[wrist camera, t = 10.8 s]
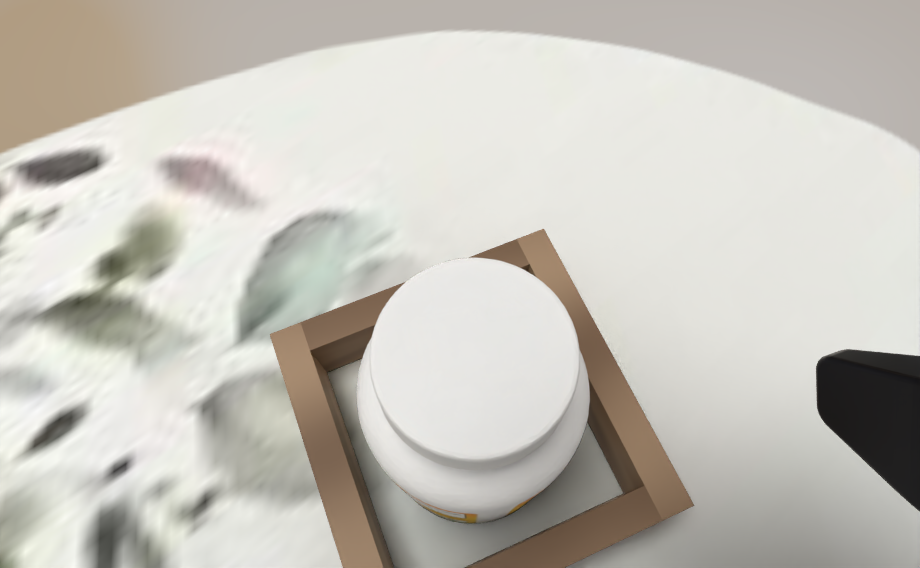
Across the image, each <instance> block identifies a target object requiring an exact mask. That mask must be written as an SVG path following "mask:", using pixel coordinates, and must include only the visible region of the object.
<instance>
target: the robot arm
mask: <svg viewBox="0 0 920 568" xmlns="http://www.w3.org/2000/svg"><path fill="white" fill-rule="evenodd" d="M816 387H817V409H818V412H819V415H820V417H821V418H822V420H823V421H824V423H825V424H826V425H827V426H828V427H829V428H830V429H831V430H832V431H833V432H834V433H836V434H837V435H838V436H839V437H840V438H841V439H842V440H843V441H844V442H845V443H846V444H847V445H848V446H849V447H850V448H851V449H852V450H853V451H855V452H856V453H857V454H858V455H859V456H860V457H861V458H862V459H863V460H864V461H865V462H866V463H867V464H868V465H869V466H870V467H871V468H872V469H874V470H875V471H876V472H877V473H878V474H879V475H880V476H881V477H882V478H883V479H884V480H885V481H886V482H887V483H888V484H889V485H890V486H891V487H893V488H894V489H895V490H896V491H897V492H898V493H899V494H900V495H901V496H902V497H903V498H905V499H906V500H907V501H908V502H909V503H910V504H911V505H913V506H914V507H915V508H916V509H917V510H919V511H920V356H914V355H903V354H893V353H882V352H872V351H861V350H851V349H846V350H841V351H838V352H835V353H832V354H829V355H827V356H824V357H822V358H821V359H820V360H819V361H818V363H817V366H816Z"/></svg>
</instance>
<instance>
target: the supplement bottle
mask: <svg viewBox="0 0 920 568" xmlns="http://www.w3.org/2000/svg"><path fill="white" fill-rule="evenodd" d="M356 398H357V409H358V415H359V420H360V424H361V428H362V431H363V434H364V436H365V439H366V441H367V443H368V445H369V448H370V450H371V451H372V453H373V455H374V456H375V458H376V460H377V461H378V463H379V465H380V466H381V467H382V469H383V470H384V471H385V473H386V474H387V475H388V476H389V477H390V478H391V479H392V480H393V481H394V482H395V483H396V484H397V485H398V486H399V487H400V488H401V489H402V490H404V491H405V492H406V493H407V494H408V495H409V496H410V497H411V498H412V499H414V500H415V501H416V502H417V503H418V504H419V505H421V506H422V507H423V508H425V509H426V510H428V511H430V512H431V513H433V514H435V515H437V516H439V517H441V518H444V519H447V520H450V521H454V522H459V523H484V522H490V521H493V520H497V519H500V518H502V517H505V516H507V515H509V514H511V513H513V512H515V511H517V510H518V509H520V508H521V507H522V506H524V505H525V504H526V503H527V502H528V501H530V500H531V499H532V498H533V497H535V496H536V495H538V494H539V493H540V492H541V491H543V490H544V489H545V488H546V487H548V486H549V485H550V484H551V483H552V482H553V481H554V480H555V479H556V478H557V477H558V475H559V474H560V473H561V472H562V471H563V470H564V468H565V467H566V466H567V464H568V463H569V461H570V460H571V458H572V457H573V455H574V453H575V451H576V450H577V448H578V446H579V444H580V441H581V439H582V436H583V434H584V430H585V427H586V424H587V419H588V414H589V403H590V391H589V381H588V374H587V370H586V366H585V362H584V359H583V356H582V354H581V352H580V349H579V343H578V338H577V334H576V330H575V328H574V325H573V322H572V320H571V318H570V316H569V314H568V312H567V310H566V308H565V307H564V305H563V304H562V302H561V301H560V300H559V298H558V297H557V296H556V294H555V293H554V292H553V291H552V290H551V289H550V288H549V287H548V286H547V285H546V284H544V283H543V282H542V281H541V280H539V279H538V278H537V277H535V276H534V275H532V274H530V273H529V272H527V271H525V270H524V269H522V268H519V267H517V266H515V265H512V264H509V263H506V262H503V261H499V260H494V259H486V258H462V259H454V260H450V261H446V262H443V263H440V264H437V265H434V266H431V267H429V268H427V269H425V270H423V271H421V272H420V273H418V274H416V275H415V276H413V277H412V278H410V279H409V280H408V281H407V282H405V283H404V284H403V285H402V286H401V287H400V288H399V289H398V290H397V291H396V292H395V293H394V294H393V296H392V297H391V298H390V299H389V300H388V302H387V303H386V305H385V306H384V308H383V310H382V311H381V313H380V315H379V317H378V319H377V322H376V325H375V327H374V330H373V334H372V338H371V339H370V341H369V343H368V345H367V347H366V350H365V352H364V354H363V358H362V361H361V365H360V368H359V373H358V381H357V396H356Z"/></svg>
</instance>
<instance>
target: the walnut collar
mask: <svg viewBox="0 0 920 568" xmlns="http://www.w3.org/2000/svg"><path fill="white" fill-rule="evenodd" d="M469 258H486V259H494V260H499V261H503V262H506V263H509V264H512V265H515V266H517V267H519V268H522V269H524V270H525V271H527V272H529V273H530V274H532V275H534V276H535V277H537V278H538V279H539V280H541V281H542V282H543V283H544V284H546V285H547V286H548V287H549V288H550V289H551V290H552V291H553V292H554V293H555V294H556V296H557V297H558V298H559V300H560V301H561V302H562V304H563V305H564V307H565V308H566V310H567V312H568V314H569V316H570V318H571V320H572V322H573V325H574V328H575V330H576V334H577V338H578V343H579V349H580V352H581V354H582V356H583V359H584V362H585V366H586V370H587V374H588V381H589V391H590V403H589V414H588V419H587V421H588V423H589V425H590V427H591V429H592V431H593V433H594V435H595V437H596V439H597V441H598V443H599V445H600V447H601V449H602V451H603V453H604V455H605V457H606V459H607V461H608V463H609V465H610V467H611V469H612V471H613V473H614V475H615V477H616V479H617V481H618V483H619V485H620V487H621V489H622V491H623V493H624V494H621V495H619V496H617V497H615V498H613V499H611V500H609V501H606V502H604V503H602V504H600V505H598V506H596V507H594V508H591V509H589V510H587V511H585V512H583V513H581V514H578V515H576V516H574V517H572V518H570V519H568V520H566V521H563V522H561V523H559V524H557V525H555V526H553V527H551V528H548V529H546V530H544V531H542V532H540V533H538V534H536V535H533V536H531V537H529V538H527V539H525V540H523V541H521V542H518V543H516V544H514V545H512V546H510V547H508V548H505V549H503V550H501V551H499V552H497V553H495V554H493V555H490V556H488V557H486V558H484V559H482V560H480V561H478V562H475V563H473V564H471V565H469V566H467V567H465V568H565V567H567V566H569V565H571V564H573V563H575V562H577V561H579V560H581V559H584V558H586V557H588V556H590V555H592V554H594V553H596V552H598V551H600V550H602V549H604V548H607V547H609V546H611V545H613V544H615V543H617V542H619V541H621V540H623V539H625V538H627V537H630V536H632V535H634V534H636V533H638V532H640V531H642V530H644V529H646V528H648V527H650V526H653V525H655V524H657V523H659V522H661V521H663V520H665V519H667V518H669V517H671V516H673V515H676V514H678V513H680V512H682V511H684V510H686V509H688V508H690V507H692V506H694V504H693V502H692V500H691V499H690V497H689V495H688V493H687V491H686V489H685V488H684V486H683V484H682V482H681V480H680V478H679V477H678V475H677V473H676V471H675V469H674V467H673V466H672V464H671V462H670V460H669V458H668V456H667V455H666V453H665V451H664V449H663V447H662V445H661V443H660V442H659V440H658V438H657V436H656V434H655V432H654V431H653V429H652V427H651V425H650V423H649V421H648V420H647V418H646V416H645V414H644V412H643V410H642V409H641V407H640V405H639V403H638V401H637V399H636V397H635V396H634V394H633V392H632V390H631V388H630V386H629V385H628V383H627V381H626V379H625V377H624V375H623V374H622V372H621V370H620V368H619V366H618V364H617V363H616V361H615V359H614V357H613V355H612V353H611V352H610V350H609V348H608V346H607V344H606V342H605V340H604V339H603V337H602V335H601V333H600V331H599V329H598V328H597V326H596V324H595V322H594V320H593V318H592V317H591V315H590V313H589V311H588V309H587V307H586V306H585V304H584V302H583V300H582V298H581V296H580V294H579V293H578V291H577V289H576V287H575V285H574V283H573V282H572V280H571V278H570V276H569V274H568V272H567V271H566V269H565V267H564V265H563V263H562V261H561V260H560V258H559V256H558V254H557V252H556V250H555V249H554V247H553V245H552V243H551V241H550V239H549V237H548V236H547V234H546V232H545V230H544V229H542V230H539V231H537V232H534V233H531V234H529V235H526V236H524V237H521V238H518V239H516V240H513V241H511V242H508V243H505V244H503V245H500V246H498V247H495V248H492V249H490V250H487V251H485V252H482V253H479V254H477V255H474V256H472V257H469ZM404 283H405V282H404ZM404 283H402V284H399V285H396V286H394V287H391V288H389V289H386V290H383V291H381V292H378V293H376V294H373V295H370V296H368V297H365V298H363V299H360V300H357V301H355V302H352V303H350V304H347V305H344V306H342V307H339V308H337V309H334V310H332V311H329V312H326V313H324V314H321V315H319V316H316V317H313V318H311V319H308V320H306V321H303V322H300V323H298V324H295V325H293V326H290V327H287V328H285V329H282V330H280V331H277V332H274V333H272V334H270V337H271V340H272V343H273V346H274V349H275V353H276V356H277V359H278V362H279V365H280V369H281V372H282V375H283V378H284V381H285V384H286V388H287V391H288V394H289V397H290V400H291V404H292V407H293V410H294V413H295V416H296V420H297V423H298V426H299V429H300V432H301V435H302V439H303V442H304V445H305V448H306V451H307V455H308V458H309V461H310V464H311V467H312V470H313V474H314V477H315V480H316V483H317V486H318V490H319V493H320V496H321V499H322V502H323V505H324V509H325V512H326V515H327V518H328V521H329V525H330V528H331V531H332V534H333V537H334V540H335V544H336V547H337V550H338V553H339V556H340V560H341V563H342V566H343V568H394V566H393V563H392V560H391V557H390V554H389V551H388V548H387V546H386V543H385V540H384V537H383V534H382V531H381V528H380V525H379V522H378V519H377V517H376V514H375V511H374V508H373V505H372V502H371V499H370V496H369V493H368V490H367V488H366V485H365V482H364V479H363V476H362V473H361V470H360V467H359V464H358V461H357V459H356V456H355V453H354V450H353V447H352V444H351V441H350V438H349V435H348V432H347V429H346V427H345V424H344V421H343V418H342V415H341V412H340V409H339V406H338V403H337V400H336V398H335V395H334V392H333V389H332V386H331V383H330V380H329V377H328V374H327V372H329V371H331V370H334V369H336V368H339V367H341V366H344V365H346V364H349V363H351V362H354V361H356V360H359V359H361V358H363V354H364V352H365V350H366V347H367V345H368V343H369V341H370V339H371V338H372V334H373V330H374V327H375V325H376V322H377V319H378V317H379V315H380V313H381V311H382V310H383V308H384V306H385V305H386V303H387V302H388V300H389V299H390V298H391V297H392V296H393V294H394V293H395V292H396V291H397V290H398V289H399V288H400V287H401V286H402V285H403V284H404Z"/></svg>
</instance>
